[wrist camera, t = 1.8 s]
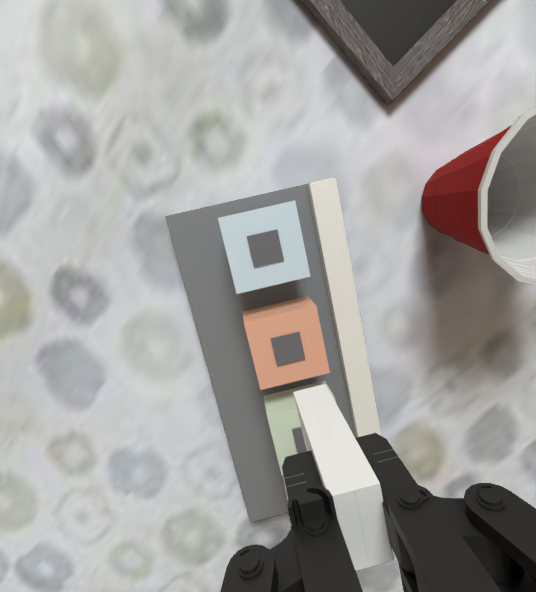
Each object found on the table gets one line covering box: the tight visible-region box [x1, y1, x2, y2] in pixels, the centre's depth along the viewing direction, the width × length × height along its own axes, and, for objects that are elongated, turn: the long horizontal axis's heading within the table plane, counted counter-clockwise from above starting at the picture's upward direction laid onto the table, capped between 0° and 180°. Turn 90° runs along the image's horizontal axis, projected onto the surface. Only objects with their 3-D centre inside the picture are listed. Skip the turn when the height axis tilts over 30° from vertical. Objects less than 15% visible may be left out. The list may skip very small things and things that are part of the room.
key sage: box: [264, 381, 336, 475], centre depth 29 cm, size 5×5×3 cm
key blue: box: [218, 200, 311, 294], centre depth 26 cm, size 5×5×3 cm
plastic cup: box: [422, 107, 536, 285], centre depth 27 cm, size 11×11×12 cm
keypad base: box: [165, 177, 381, 522], centre depth 32 cm, size 28×13×3 cm, turn 13°
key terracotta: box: [243, 296, 330, 390], centre depth 27 cm, size 5×5×3 cm
